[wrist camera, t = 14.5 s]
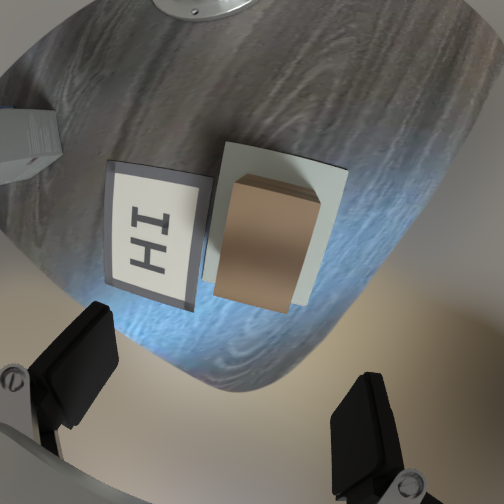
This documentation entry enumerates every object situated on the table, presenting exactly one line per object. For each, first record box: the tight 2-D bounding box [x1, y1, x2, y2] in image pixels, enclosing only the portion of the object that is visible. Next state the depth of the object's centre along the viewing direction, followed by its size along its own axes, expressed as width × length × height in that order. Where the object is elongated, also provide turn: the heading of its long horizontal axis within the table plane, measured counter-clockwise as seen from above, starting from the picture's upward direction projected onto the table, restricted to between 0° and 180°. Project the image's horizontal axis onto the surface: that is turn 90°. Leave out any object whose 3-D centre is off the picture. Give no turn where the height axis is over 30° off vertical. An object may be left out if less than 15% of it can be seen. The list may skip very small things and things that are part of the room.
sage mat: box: [202, 141, 349, 306], centre depth 26 cm, size 14×11×1 cm
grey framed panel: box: [104, 160, 214, 313], centre depth 28 cm, size 15×12×1 cm
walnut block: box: [213, 173, 321, 314], centre depth 23 cm, size 9×6×6 cm, turn 168°
